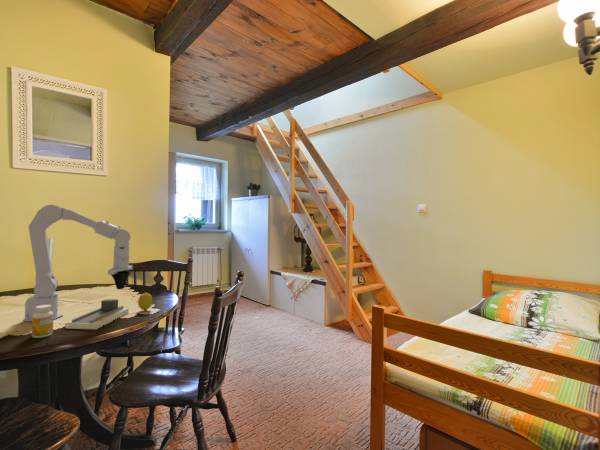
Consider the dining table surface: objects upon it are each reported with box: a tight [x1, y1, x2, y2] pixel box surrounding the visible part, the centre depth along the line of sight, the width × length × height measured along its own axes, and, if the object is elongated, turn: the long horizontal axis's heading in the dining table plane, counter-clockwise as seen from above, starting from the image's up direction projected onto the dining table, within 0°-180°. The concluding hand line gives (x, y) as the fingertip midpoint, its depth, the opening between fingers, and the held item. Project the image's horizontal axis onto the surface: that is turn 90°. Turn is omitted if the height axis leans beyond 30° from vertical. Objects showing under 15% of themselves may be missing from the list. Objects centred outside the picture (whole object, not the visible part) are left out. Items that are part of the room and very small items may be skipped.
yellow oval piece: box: [137, 292, 153, 312], centre depth 133 cm, size 6×6×8 cm
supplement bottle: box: [31, 305, 54, 339], centre depth 102 cm, size 5×5×10 cm
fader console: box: [65, 305, 129, 330], centre depth 119 cm, size 11×20×3 cm, turn 179°
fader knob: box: [100, 298, 119, 311], centre depth 125 cm, size 5×3×4 cm, turn 89°
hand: (120, 288), depth 132 cm, fingers closed
